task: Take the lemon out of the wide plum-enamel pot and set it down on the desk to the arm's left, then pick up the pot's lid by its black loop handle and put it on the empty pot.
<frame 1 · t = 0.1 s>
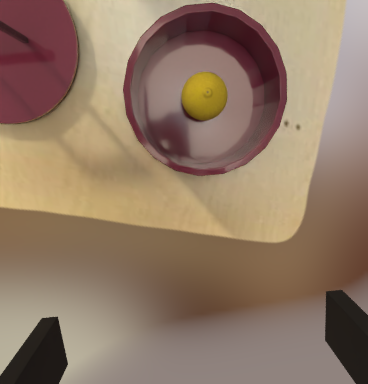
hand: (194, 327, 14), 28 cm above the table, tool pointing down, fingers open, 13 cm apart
lemon: (201, 100, 38), resting on pot
pot: (201, 100, 38), on the table
lid: (0, 44, 36), point 1 cm above the table
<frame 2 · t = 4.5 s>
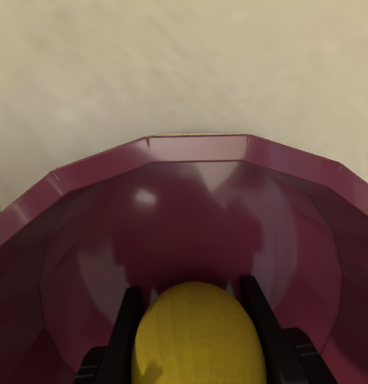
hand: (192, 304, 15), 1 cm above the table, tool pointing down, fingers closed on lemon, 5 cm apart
lemon: (191, 297, 16), resting on pot, touching gripper
pot: (191, 295, 16), on the table
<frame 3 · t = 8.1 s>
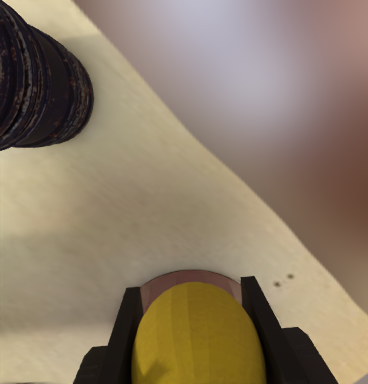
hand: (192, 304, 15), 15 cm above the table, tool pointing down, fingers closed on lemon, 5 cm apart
lemon: (191, 298, 16), point 15 cm above the table, touching gripper
pot: (191, 340, 34), on the table
storage jar: (45, 95, 28), on the table
when the fingers open (0 cm above the table, at t = 11.7 s): lemon stays where it is, on the table.
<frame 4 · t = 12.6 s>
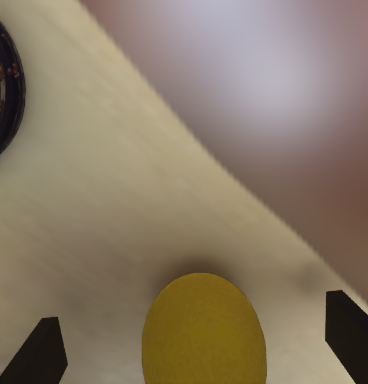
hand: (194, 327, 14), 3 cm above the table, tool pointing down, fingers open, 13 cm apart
lemon: (196, 289, 17), on the table
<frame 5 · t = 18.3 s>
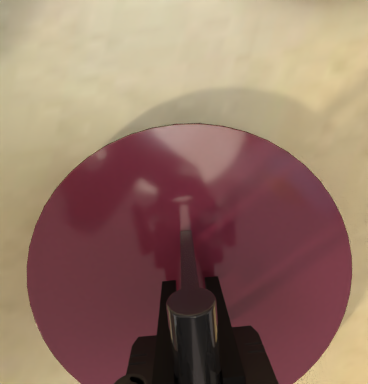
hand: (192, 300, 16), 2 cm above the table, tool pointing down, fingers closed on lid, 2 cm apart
lid: (190, 284, 17), point 1 cm above the table, touching gripper
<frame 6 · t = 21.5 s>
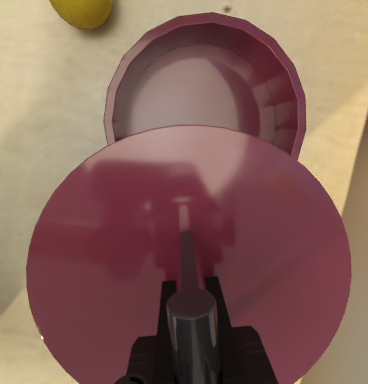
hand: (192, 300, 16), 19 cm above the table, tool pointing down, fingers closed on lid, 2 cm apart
lemon: (93, 11, 29), on the table
pot: (200, 126, 32), on the table
lid: (190, 285, 17), point 17 cm above the table, touching gripper
when the fingers open (8 cm above the table, at t = 24.9 s): lid stays where it is, resting on pot.
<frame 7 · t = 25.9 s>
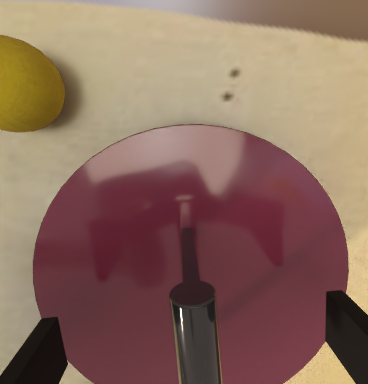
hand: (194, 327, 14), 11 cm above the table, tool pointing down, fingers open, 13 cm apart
lemon: (45, 95, 22), on the table
lid: (191, 280, 18), point 6 cm above the table, touching pot
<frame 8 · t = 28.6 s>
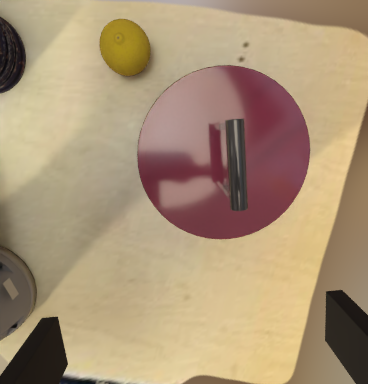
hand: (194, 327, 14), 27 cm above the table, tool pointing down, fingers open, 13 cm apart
lemon: (131, 58, 36), on the table
lid: (223, 157, 32), point 6 cm above the table, touching pot
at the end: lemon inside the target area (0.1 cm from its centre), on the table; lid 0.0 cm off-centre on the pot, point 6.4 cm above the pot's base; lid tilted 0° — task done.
